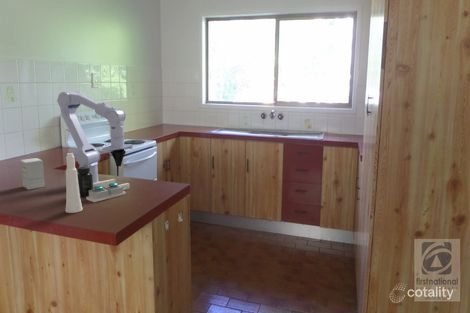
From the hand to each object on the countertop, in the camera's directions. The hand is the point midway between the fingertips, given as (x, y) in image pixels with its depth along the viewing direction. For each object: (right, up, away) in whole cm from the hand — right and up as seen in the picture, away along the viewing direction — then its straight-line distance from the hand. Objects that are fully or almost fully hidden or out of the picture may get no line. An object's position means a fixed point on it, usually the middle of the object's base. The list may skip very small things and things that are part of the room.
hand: (118, 165), depth 172 cm
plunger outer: (-3, -12, -16) cm, 20 cm away
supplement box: (-39, -10, 0) cm, 40 cm away
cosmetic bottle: (-7, -16, -30) cm, 35 cm away
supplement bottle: (-11, -12, -11) cm, 20 cm away
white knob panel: (-4, -11, -7) cm, 14 cm away
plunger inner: (+1, -11, -11) cm, 15 cm away
